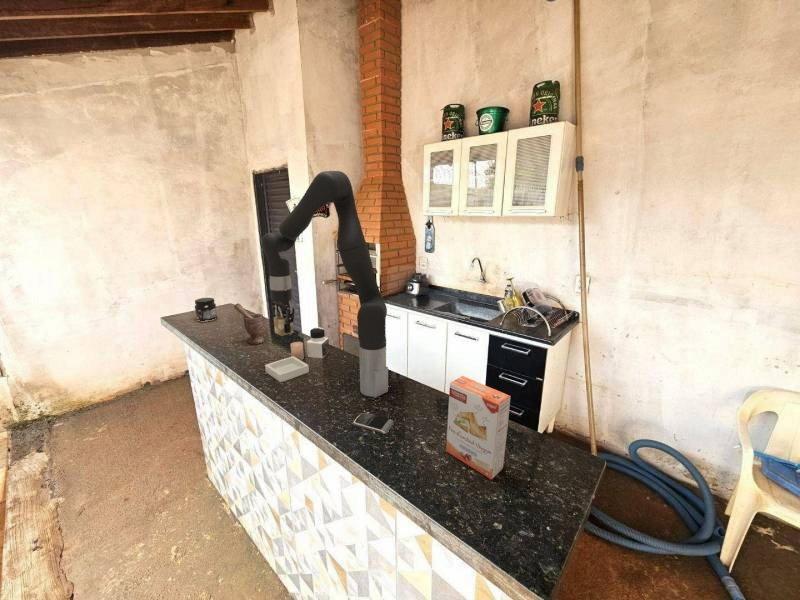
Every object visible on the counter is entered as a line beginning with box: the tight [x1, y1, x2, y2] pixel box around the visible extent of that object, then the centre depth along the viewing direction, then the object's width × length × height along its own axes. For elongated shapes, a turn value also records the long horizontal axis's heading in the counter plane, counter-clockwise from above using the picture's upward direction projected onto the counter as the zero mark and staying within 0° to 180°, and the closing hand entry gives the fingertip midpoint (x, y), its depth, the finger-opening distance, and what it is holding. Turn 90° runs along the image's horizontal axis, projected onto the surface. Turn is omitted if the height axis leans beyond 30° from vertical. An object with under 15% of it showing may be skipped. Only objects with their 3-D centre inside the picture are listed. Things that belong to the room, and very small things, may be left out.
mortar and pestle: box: [233, 303, 266, 345], centre depth 161 cm, size 12×9×20 cm
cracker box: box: [445, 375, 511, 481], centre depth 86 cm, size 14×6×21 cm, turn 45°
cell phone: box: [353, 412, 394, 434], centre depth 104 cm, size 6×11×1 cm, turn 67°
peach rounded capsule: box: [290, 341, 305, 362], centre depth 146 cm, size 5×5×7 cm
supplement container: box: [194, 297, 218, 321], centre depth 195 cm, size 10×10×12 cm
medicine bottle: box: [306, 327, 330, 359], centre depth 151 cm, size 7×7×12 cm
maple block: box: [273, 314, 294, 337], centre depth 131 cm, size 5×5×6 cm
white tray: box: [264, 356, 310, 383], centre depth 135 cm, size 12×12×3 cm
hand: (284, 330), depth 131 cm, fingers closed on maple block, 5 cm apart
